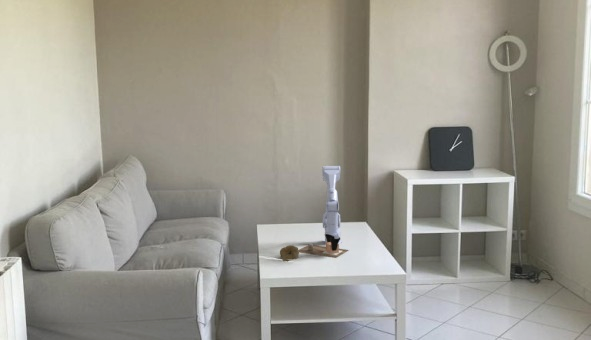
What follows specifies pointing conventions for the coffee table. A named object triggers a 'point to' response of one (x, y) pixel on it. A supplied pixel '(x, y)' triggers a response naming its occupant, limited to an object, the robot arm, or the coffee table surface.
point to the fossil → (289, 253)
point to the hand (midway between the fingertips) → (332, 248)
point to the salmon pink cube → (329, 248)
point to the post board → (319, 250)
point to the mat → (332, 253)
